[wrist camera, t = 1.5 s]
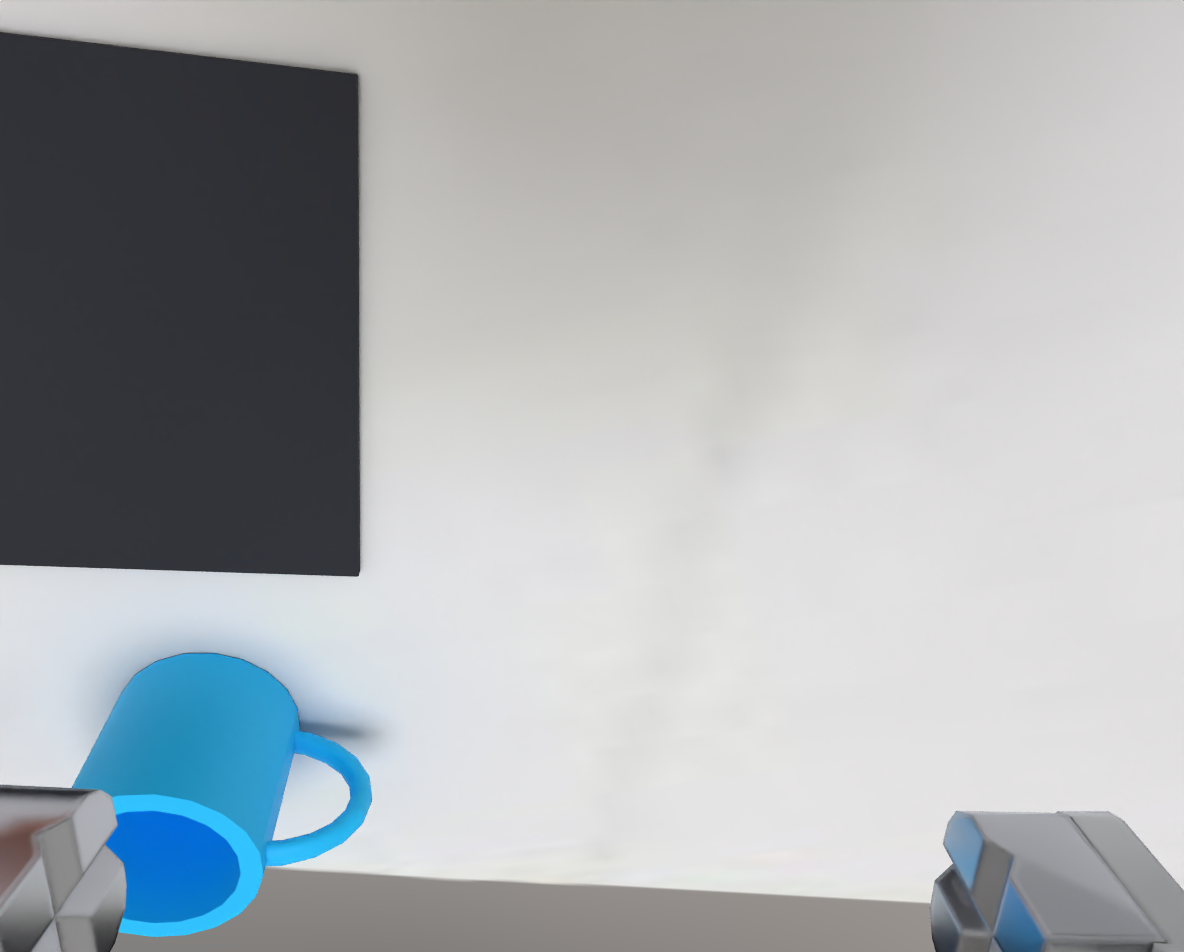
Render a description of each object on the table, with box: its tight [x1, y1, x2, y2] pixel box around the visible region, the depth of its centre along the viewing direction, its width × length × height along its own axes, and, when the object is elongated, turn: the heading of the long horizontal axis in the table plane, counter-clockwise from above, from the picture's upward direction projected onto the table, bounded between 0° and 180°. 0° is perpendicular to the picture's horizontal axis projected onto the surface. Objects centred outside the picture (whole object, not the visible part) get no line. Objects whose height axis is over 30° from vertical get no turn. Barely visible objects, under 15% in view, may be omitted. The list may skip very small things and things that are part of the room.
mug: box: [72, 653, 372, 937], centre depth 38 cm, size 12×8×8 cm
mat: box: [0, 32, 360, 577], centre depth 32 cm, size 20×20×1 cm
